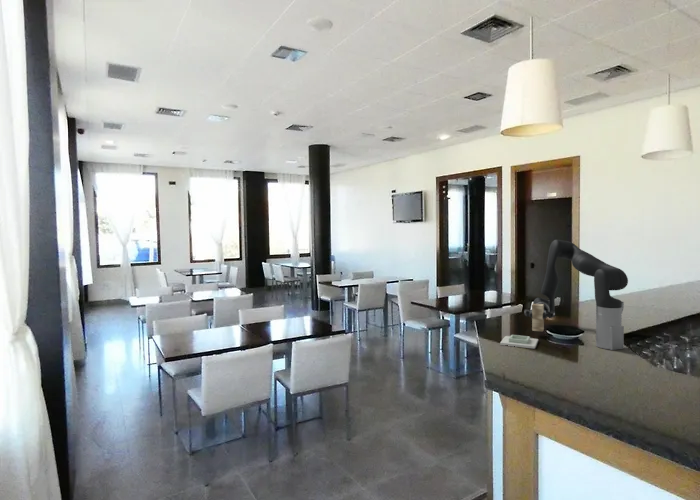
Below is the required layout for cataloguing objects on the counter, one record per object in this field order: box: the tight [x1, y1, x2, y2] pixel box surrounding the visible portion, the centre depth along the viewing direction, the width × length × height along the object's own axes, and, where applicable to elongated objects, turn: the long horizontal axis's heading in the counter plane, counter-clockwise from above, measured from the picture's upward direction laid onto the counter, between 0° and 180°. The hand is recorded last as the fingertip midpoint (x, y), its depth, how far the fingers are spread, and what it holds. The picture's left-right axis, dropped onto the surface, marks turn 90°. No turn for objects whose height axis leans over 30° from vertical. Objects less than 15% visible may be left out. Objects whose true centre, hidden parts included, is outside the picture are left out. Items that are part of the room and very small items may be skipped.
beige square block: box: [531, 303, 545, 332], centre depth 199 cm, size 5×5×12 cm
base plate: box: [499, 334, 539, 350], centre depth 188 cm, size 14×14×2 cm
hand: (537, 316), depth 197 cm, fingers closed on beige square block, 4 cm apart
